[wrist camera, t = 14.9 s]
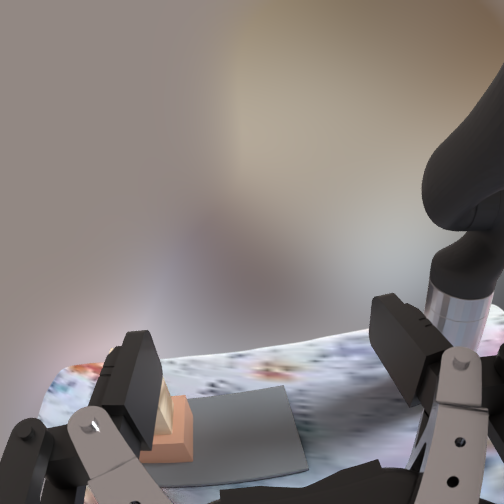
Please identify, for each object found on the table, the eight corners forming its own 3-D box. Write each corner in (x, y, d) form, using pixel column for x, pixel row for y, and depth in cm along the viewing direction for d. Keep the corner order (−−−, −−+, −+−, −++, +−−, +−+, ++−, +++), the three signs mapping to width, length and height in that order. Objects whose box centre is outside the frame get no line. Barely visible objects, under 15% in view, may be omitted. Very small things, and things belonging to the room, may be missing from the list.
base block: (139, 419, 39) (129, 398, 37) (193, 415, 39) (185, 395, 38) (133, 462, 31) (119, 444, 30) (193, 461, 32) (183, 442, 30)
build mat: (134, 405, 42) (133, 402, 42) (284, 387, 44) (283, 385, 44) (121, 485, 28) (119, 483, 28) (308, 470, 30) (308, 467, 30)
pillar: (137, 406, 36) (110, 348, 32) (174, 404, 36) (151, 344, 32) (132, 435, 31) (100, 377, 27) (172, 434, 32) (144, 375, 28)
